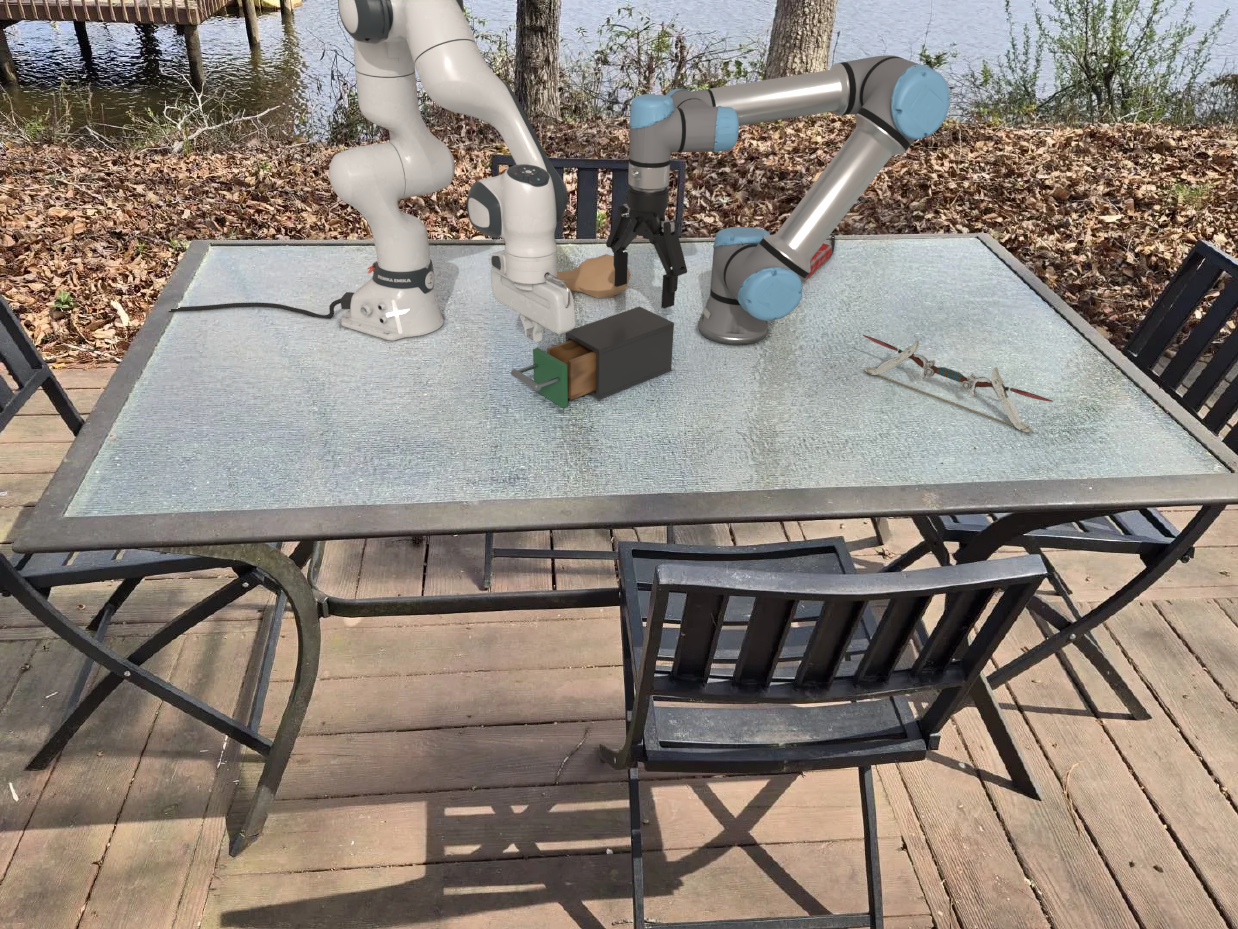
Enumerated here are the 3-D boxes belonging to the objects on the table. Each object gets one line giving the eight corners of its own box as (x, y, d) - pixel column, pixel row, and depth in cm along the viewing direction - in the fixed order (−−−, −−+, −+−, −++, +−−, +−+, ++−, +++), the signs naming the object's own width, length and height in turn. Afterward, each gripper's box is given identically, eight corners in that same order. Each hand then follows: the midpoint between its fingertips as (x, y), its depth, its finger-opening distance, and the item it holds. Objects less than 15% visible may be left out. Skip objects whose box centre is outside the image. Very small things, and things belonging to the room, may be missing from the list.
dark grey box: (598, 400, 169) (599, 349, 163) (565, 380, 175) (565, 331, 169) (671, 370, 180) (674, 322, 174) (637, 353, 186) (639, 306, 180)
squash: (632, 302, 209) (628, 269, 203) (549, 309, 210) (543, 277, 204) (632, 277, 217) (628, 245, 210) (552, 285, 218) (546, 253, 212)
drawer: (538, 418, 161) (537, 375, 156) (510, 399, 167) (507, 357, 162) (634, 379, 174) (636, 339, 169) (605, 363, 180) (605, 323, 175)
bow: (1043, 434, 162) (1060, 387, 156) (1039, 438, 161) (1056, 390, 155) (858, 366, 183) (867, 322, 178) (854, 369, 182) (862, 324, 177)
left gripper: (584, 279, 145) (584, 354, 153) (512, 245, 158) (515, 316, 166) (554, 288, 142) (555, 364, 150) (482, 252, 155) (487, 324, 162)
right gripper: (589, 174, 166) (588, 280, 178) (681, 207, 151) (674, 321, 162) (618, 167, 170) (616, 272, 182) (711, 199, 155) (702, 310, 167)
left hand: (533, 338), depth 158 cm, fingers closed
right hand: (643, 295), depth 172 cm, fingers open, 13 cm apart
